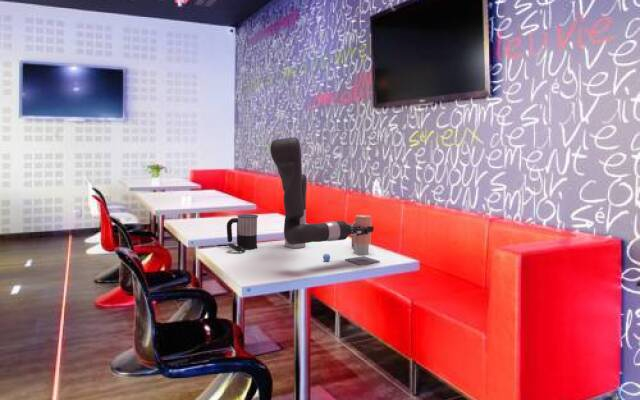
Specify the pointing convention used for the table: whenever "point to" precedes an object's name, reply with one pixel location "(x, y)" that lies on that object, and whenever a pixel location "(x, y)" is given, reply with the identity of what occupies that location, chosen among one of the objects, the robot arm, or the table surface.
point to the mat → (362, 260)
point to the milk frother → (243, 232)
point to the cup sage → (361, 248)
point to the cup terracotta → (363, 222)
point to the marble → (326, 257)
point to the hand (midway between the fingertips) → (367, 227)
